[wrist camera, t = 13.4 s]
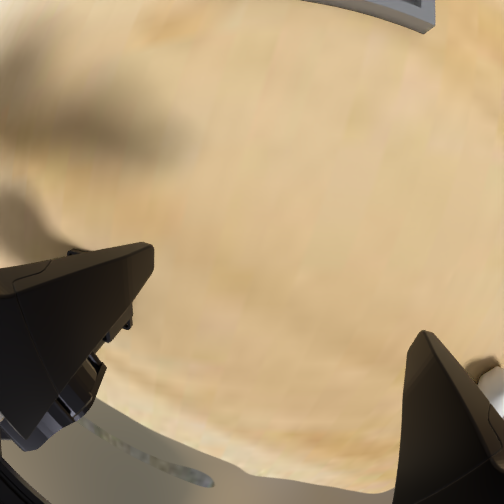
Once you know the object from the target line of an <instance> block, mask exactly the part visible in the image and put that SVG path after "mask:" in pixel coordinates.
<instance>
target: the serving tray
mask: <svg viewBox="0 0 504 504" xmlns="http://www.w3.org/2000/svg"><path fill="white" fill-rule="evenodd" d="M303 1H309V2H315V3H320V4H325V5H330V6H335V7H340V8H344V9H348V10H352V11H356V12H360V13H364V14H367V15H371V16H374V17H377V18H381V19H384V20H387V21H390V22H393V23H396V24H399V25H401V26H404V27H407V28H410V29H412V30H415V31H417V32H420V33H422V34H425V33H426V32H427V31H429V30H430V29H431V28H433V27H434V26H435V0H303Z"/></svg>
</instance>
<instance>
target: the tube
mask: <svg viewBox="0 0 504 504" xmlns="http://www.w3.org/2000/svg"><path fill="white" fill-rule="evenodd" d="M477 386H478V387H479V388H480V390H481V391H482V392H483V394H484V395H485V396H486V397H487V399H488V400H489V401H490V403H491V404H492V405H493V407H494V408H495V409H496V411H497V412H498V413H499V415H500V416H501V417H503V415H504V369H503V368H501V367H498V366H496V367H495V368H493V369H491V370H490V371H488V372H486V373H485V374H483V375H482V376H481V377H480V379H479V382H478V385H477Z"/></svg>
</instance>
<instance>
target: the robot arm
mask: <svg viewBox="0 0 504 504" xmlns="http://www.w3.org/2000/svg"><path fill="white" fill-rule="evenodd" d="M153 270H154V247H153V246H152V245H151V244H148V243H145V242H139V243H133V244H128V245H122V246H117V247H112V248H106V249H101V250H96V251H91V252H82V251H79V250H75V249H71V250H70V251H68V253H67V256H66V257H61V258H56V259H53V260H46V261H41V262H36V263H31V264H25V265H19V266H13V267H6V268H0V504H51V503H50V502H49V501H48V500H46V499H45V498H44V497H43V496H42V495H41V494H39V493H38V492H37V491H36V490H35V489H34V488H32V486H30V485H29V484H28V483H27V482H26V481H25V480H24V479H23V478H22V477H21V476H20V475H19V474H18V473H17V472H16V471H14V469H13V468H12V467H11V466H10V465H9V464H8V463H7V462H6V461H5V460H4V459H3V458H2V452H1V440H13V442H15V444H17V446H19V448H21V449H22V450H23V451H31V450H36V449H38V448H39V447H41V446H42V445H43V444H44V443H45V442H46V441H47V440H48V439H49V438H50V437H51V436H52V435H53V434H55V433H56V432H57V431H59V430H60V429H62V428H63V427H65V426H67V425H69V424H71V423H73V422H75V421H77V420H78V419H80V418H81V417H82V416H84V415H85V414H86V412H87V411H88V410H89V409H90V408H91V406H92V404H93V402H94V400H95V397H96V395H97V392H98V389H99V387H100V384H101V381H102V379H103V376H104V374H105V371H106V369H107V367H106V366H105V364H104V363H103V362H101V361H100V360H99V358H98V357H97V355H96V352H97V351H98V350H99V349H100V348H101V346H102V345H103V344H104V343H105V342H107V343H109V342H111V341H112V340H113V339H114V337H115V336H116V335H117V334H118V333H119V331H120V330H121V329H122V328H123V329H126V330H129V329H130V328H131V327H132V325H133V324H132V316H133V309H132V302H133V300H134V299H135V297H136V296H137V294H138V293H139V292H140V290H141V289H142V287H143V286H144V284H145V283H146V281H147V280H148V278H149V277H150V276H151V274H152V272H153ZM392 504H504V420H503V419H502V417H501V416H500V415H499V413H498V412H497V411H496V409H495V408H494V407H493V405H492V404H491V403H490V401H489V400H488V399H487V397H486V396H485V395H484V394H483V392H482V391H481V390H480V388H479V387H478V386H477V385H476V383H475V382H474V381H473V380H472V378H471V377H470V376H469V375H468V373H467V372H466V371H465V370H464V368H463V367H462V366H461V365H460V364H459V362H458V361H457V360H456V359H455V358H454V356H453V355H452V354H451V353H450V352H449V351H448V349H447V348H446V347H445V346H444V345H443V344H442V342H441V341H440V340H439V339H438V338H437V337H436V336H435V334H434V333H432V332H429V331H425V330H422V331H420V332H419V334H418V335H417V337H416V338H415V340H414V342H413V343H412V345H411V346H410V348H409V350H408V352H407V360H406V370H405V380H404V388H403V402H402V425H401V440H400V451H399V461H398V469H397V477H396V484H395V491H394V497H393V502H392Z"/></svg>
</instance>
